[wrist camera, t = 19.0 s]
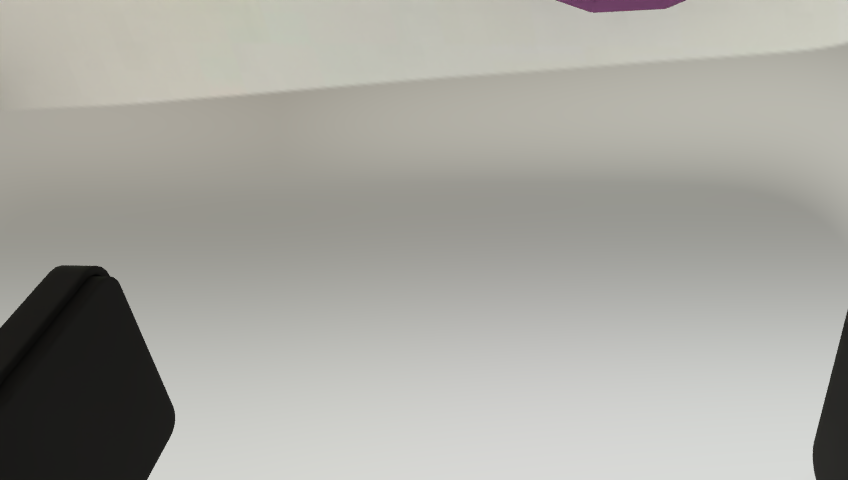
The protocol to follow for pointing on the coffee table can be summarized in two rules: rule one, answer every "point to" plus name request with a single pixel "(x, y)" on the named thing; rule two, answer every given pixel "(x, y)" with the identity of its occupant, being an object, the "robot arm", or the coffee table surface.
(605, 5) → the bowl
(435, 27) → the coffee table surface
